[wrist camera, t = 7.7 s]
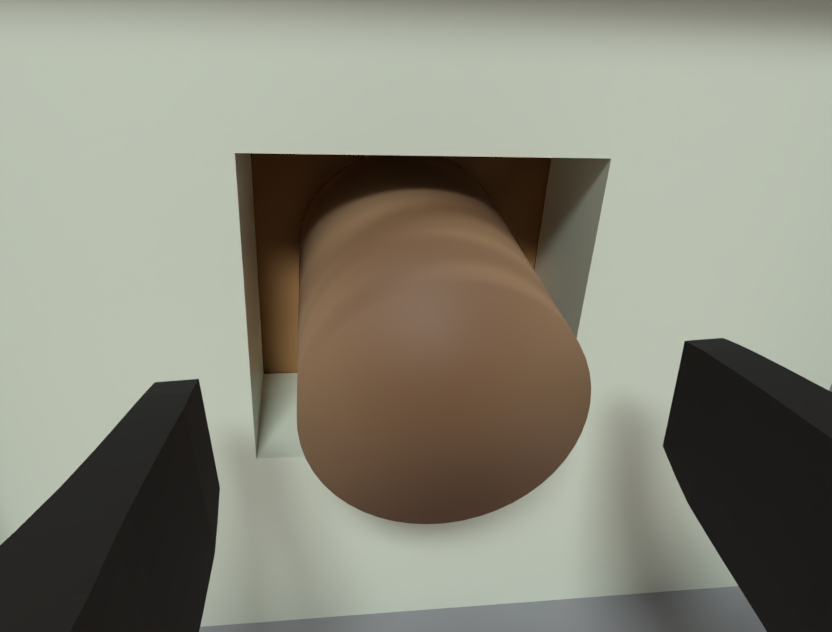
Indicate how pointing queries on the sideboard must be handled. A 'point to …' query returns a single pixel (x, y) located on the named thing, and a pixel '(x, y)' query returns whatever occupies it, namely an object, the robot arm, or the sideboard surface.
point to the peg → (428, 347)
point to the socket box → (412, 136)
